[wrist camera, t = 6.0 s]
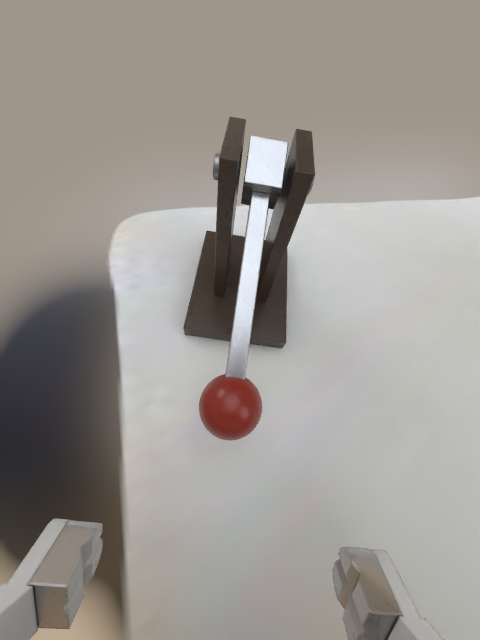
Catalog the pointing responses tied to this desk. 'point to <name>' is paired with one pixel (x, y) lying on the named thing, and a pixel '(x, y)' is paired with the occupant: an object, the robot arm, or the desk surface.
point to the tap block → (227, 249)
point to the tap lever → (246, 299)
